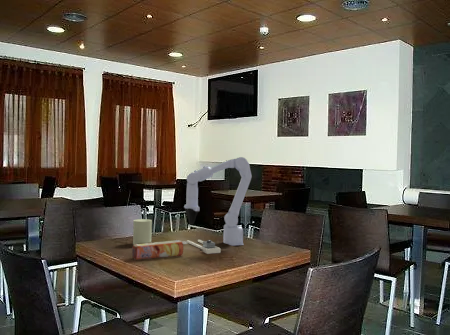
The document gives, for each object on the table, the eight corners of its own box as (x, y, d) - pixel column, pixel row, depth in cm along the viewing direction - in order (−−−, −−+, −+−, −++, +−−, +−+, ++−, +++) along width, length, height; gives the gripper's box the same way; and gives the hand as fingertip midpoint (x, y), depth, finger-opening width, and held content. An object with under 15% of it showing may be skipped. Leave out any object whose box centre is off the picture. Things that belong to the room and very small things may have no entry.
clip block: (210, 249, 199) (211, 239, 199) (214, 251, 195) (215, 241, 195) (202, 250, 198) (203, 239, 198) (206, 252, 193) (207, 241, 193)
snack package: (135, 261, 174) (136, 244, 174) (131, 258, 180) (131, 242, 180) (183, 256, 184) (184, 241, 184) (177, 254, 190) (178, 238, 190)
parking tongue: (185, 243, 215) (185, 241, 215) (191, 245, 209) (191, 243, 209) (172, 243, 212) (172, 241, 212) (177, 246, 206) (177, 244, 206)
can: (147, 245, 206) (147, 220, 206) (129, 244, 208) (130, 220, 208) (154, 242, 215) (154, 218, 215) (137, 241, 217) (137, 217, 217)
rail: (198, 243, 215) (199, 239, 215) (220, 252, 194) (220, 248, 194) (186, 244, 212) (186, 240, 212) (207, 253, 190) (207, 249, 190)
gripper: (179, 196, 217) (178, 222, 217) (190, 198, 204) (189, 226, 205) (192, 195, 221) (191, 222, 221) (203, 198, 208) (203, 225, 208)
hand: (191, 224), depth 213 cm, fingers closed
